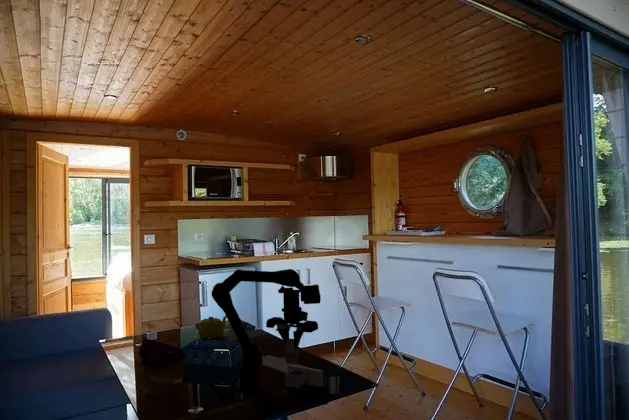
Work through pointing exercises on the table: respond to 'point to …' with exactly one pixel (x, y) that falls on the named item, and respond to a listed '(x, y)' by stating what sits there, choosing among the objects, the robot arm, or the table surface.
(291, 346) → the rail post
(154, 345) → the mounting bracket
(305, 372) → the square open holder
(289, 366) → the board
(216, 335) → the teapot
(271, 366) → the baseboard molding
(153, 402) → the table surface
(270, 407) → the table surface
